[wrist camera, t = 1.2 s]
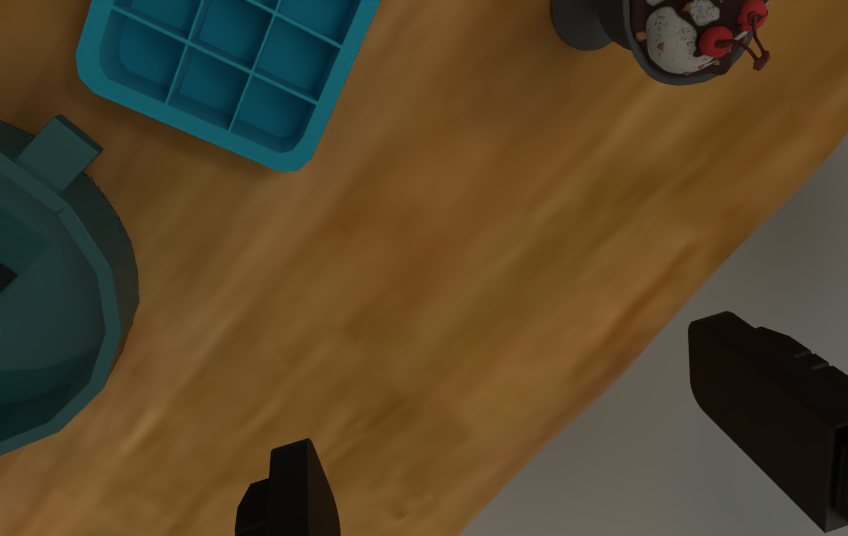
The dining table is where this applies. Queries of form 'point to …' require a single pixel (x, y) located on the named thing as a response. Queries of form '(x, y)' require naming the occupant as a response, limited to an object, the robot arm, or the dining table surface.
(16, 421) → the teal tabbed round part
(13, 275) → the block
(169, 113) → the ice cube tray
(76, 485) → the dining table surface
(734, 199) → the dining table surface
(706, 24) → the sundae
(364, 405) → the dining table surface
